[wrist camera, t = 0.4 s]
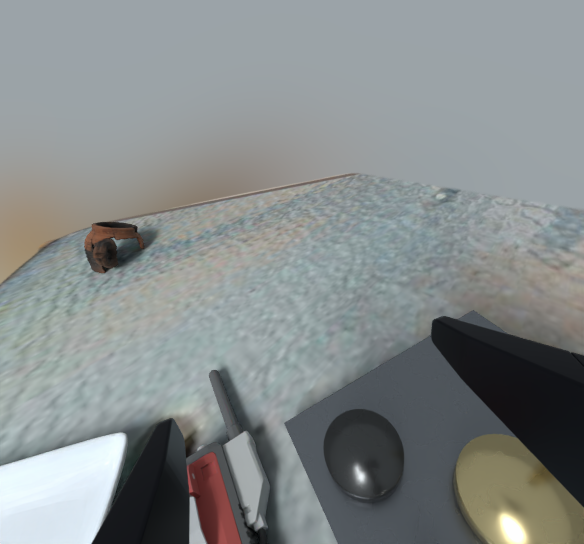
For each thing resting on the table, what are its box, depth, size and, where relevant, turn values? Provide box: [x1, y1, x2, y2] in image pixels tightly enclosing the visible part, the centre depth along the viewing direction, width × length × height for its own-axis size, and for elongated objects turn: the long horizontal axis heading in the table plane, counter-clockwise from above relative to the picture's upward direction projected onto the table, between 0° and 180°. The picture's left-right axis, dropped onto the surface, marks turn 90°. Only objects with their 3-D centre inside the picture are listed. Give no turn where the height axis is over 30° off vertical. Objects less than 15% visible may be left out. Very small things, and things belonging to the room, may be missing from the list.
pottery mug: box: [84, 222, 144, 273], centre depth 53 cm, size 12×9×8 cm
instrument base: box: [284, 310, 517, 544], centre depth 17 cm, size 22×20×5 cm
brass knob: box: [453, 434, 584, 544], centre depth 16 cm, size 12×6×6 cm, turn 116°
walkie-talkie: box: [186, 370, 270, 544], centre depth 21 cm, size 9×4×20 cm
